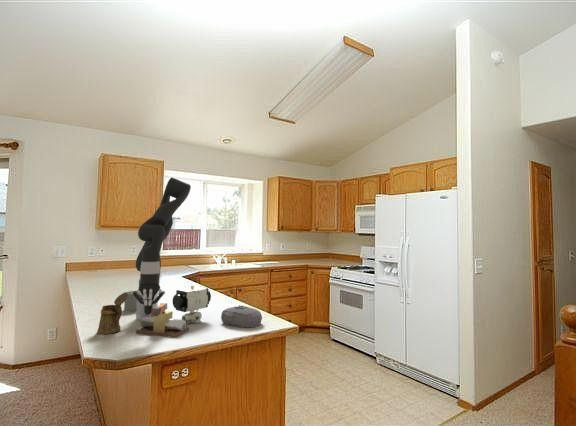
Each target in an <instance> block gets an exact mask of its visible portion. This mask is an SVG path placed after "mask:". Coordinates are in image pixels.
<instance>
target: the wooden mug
mask: <svg viewBox="0 0 576 426" xmlns="http://www.w3.org/2000/svg"><path fill="white" fill-rule="evenodd" d="M126 292H127V291H125V292H123V293H121V294H119V295H118V296H117V297H116V298H115V299H114V302H113V303H114V304H106V305H103V306H102V307H101V310H100V318H99V323H98V328H97V331H96V334H97V335H104V336H105V335H113V334H115V333H116V334H117V333H118V332H120V331H121V325H120V320H121V318H122V314H123V309H122V306H121V305H122V304H124V302H125V300H126V299H127V297H128V294H127V293H126Z"/></svg>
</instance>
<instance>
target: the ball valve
mask: <svg viewBox="0 0 576 426" xmlns="http://www.w3.org/2000/svg"><path fill="white" fill-rule="evenodd" d="M211 298H212V296H211V292H210V290H209V288H208V287H204V286H195V285H190V287H189V288H182V289H178V290H177V289H176V293H175V294H174V295H173V297H172V306H173V307H174V309H175V310H176V311H177V312H183V313H185V314H182V315H181V316H182V317H181V320H185V322H186V324H191V323H192V324H197V323H200V321H201V319H202V318H203V317H202V316H203V314H202V313H201V312H200V311H199V310H201V309H205V308H208V306H209V305H210V302H211Z"/></svg>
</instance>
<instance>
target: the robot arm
mask: <svg viewBox="0 0 576 426" xmlns="http://www.w3.org/2000/svg"><path fill="white" fill-rule="evenodd" d="M166 183H167V184H166V186H165V189H164V192H163V194H162V195H163V196H162V198H161V201H160V205H159V207H157V209H156V210H155V211H154V213H153V215H152V216H151V217H150V218H148V219H147V220H146V221H145V222H144V223H142V224H141V225H140V227H139V229H138V231H137V236H138V239H139V240H141V241H142V242H144V244H143V245H142V248H141V249H140V251H139V253H138V255H137V258H136V261H135V268H136V270H137V271H138V272H140V274H139V280H138V289H137V290H134V291H135V292H133V295H134V296H135V297H136V299H137V303H136V312H135V319H136V320H138V321H141V319H142V318H143V317H154V316H151V309H153V308H154V307H157V306H158V305H159V304H158V302H159V301H160V300H161V298H162V297H163V296H164V295H165V294H166V291H165V290H162V289H161V286H160V279H161V267H162V264H161V263H162V260H161V256H160V255H161V250H162V246H163V242H164V241H165V240H166V238H167V237H168V236H169V234H170V232H171V229H172V226H173V223H174V221H173V215H174V214H175V212H176V211H177V210H178V209H179V208H180V207H181V206H182V204H183V203H184V202H185V200H186V199H187V198H188V196H189V195H190V192H191V189H192V188H191V185H190V183H188V182H186V181H184V180H181V179H179V178H177V177H170V178H169V179H168V181H167V182H166ZM171 197H172V198H175V199H173V200H171Z"/></svg>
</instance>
